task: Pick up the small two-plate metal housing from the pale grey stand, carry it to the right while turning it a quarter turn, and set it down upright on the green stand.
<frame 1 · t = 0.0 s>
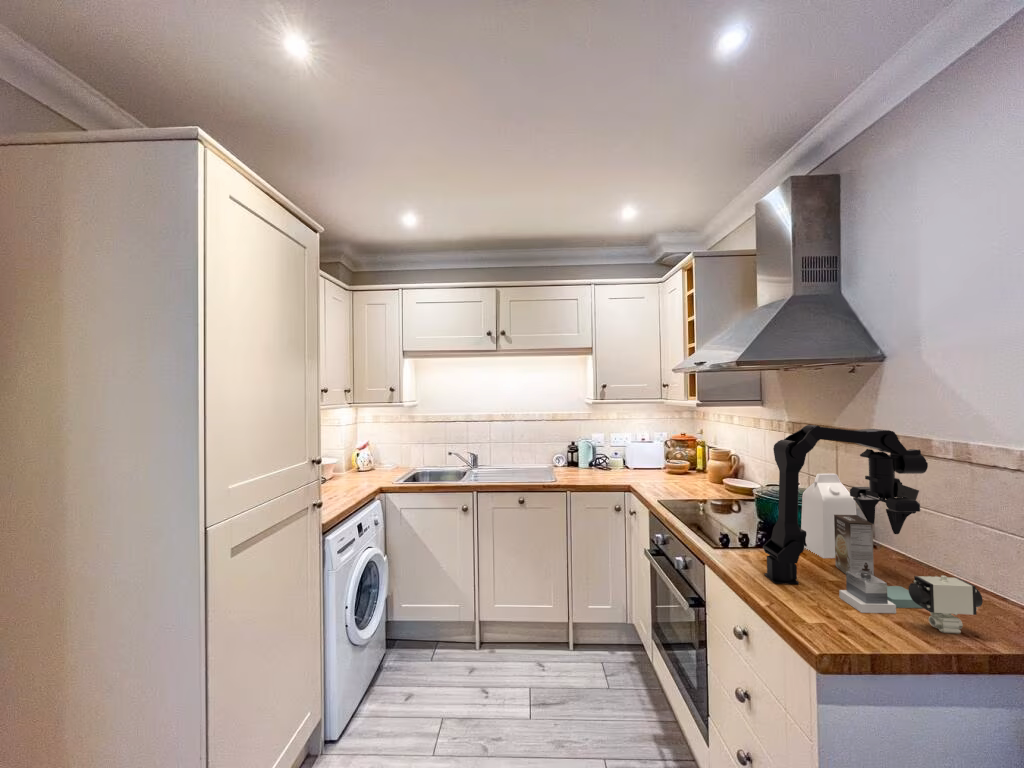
hand: (883, 529, 126), 15 cm above the counter, tool pointing down, fingers open, 9 cm apart
milk: (829, 552, 150), on the counter
housing: (866, 597, 112), point 2 cm above the counter, touching stand a
pneumatic valve: (944, 629, 101), on the counter
stand a: (866, 605, 112), on the counter
stand b: (897, 600, 115), on the counter
coffee box: (854, 573, 132), on the counter
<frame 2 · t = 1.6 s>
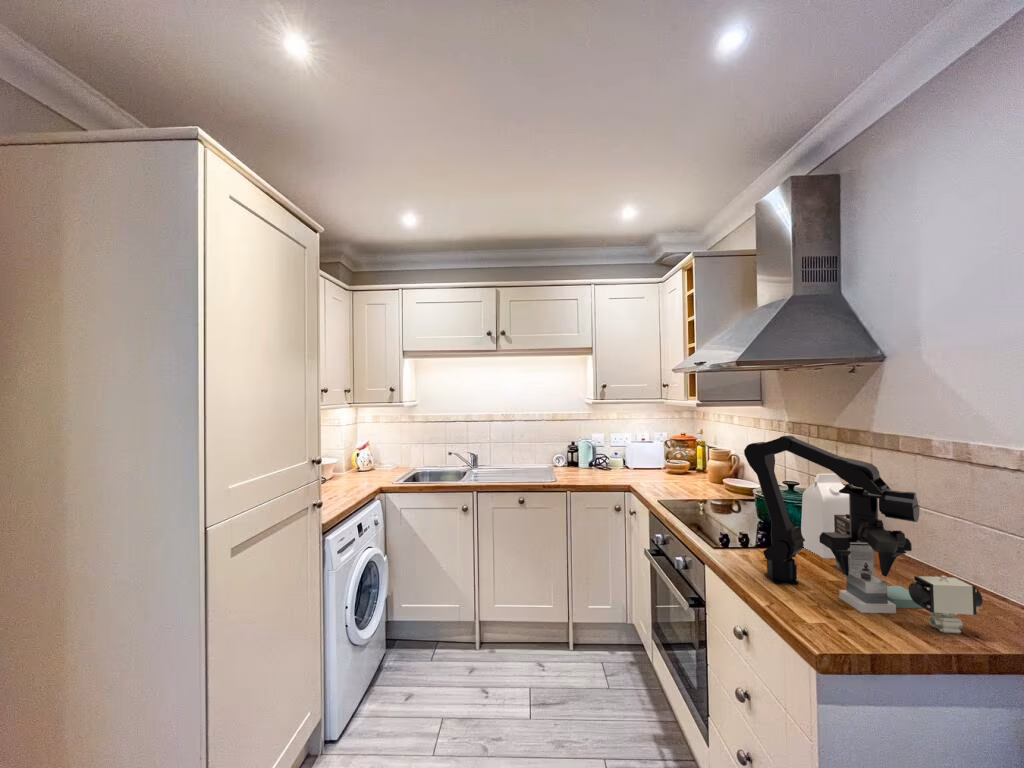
hand: (865, 575, 112), 7 cm above the counter, tool pointing down, fingers open, 9 cm apart
nothing on the counter moved.
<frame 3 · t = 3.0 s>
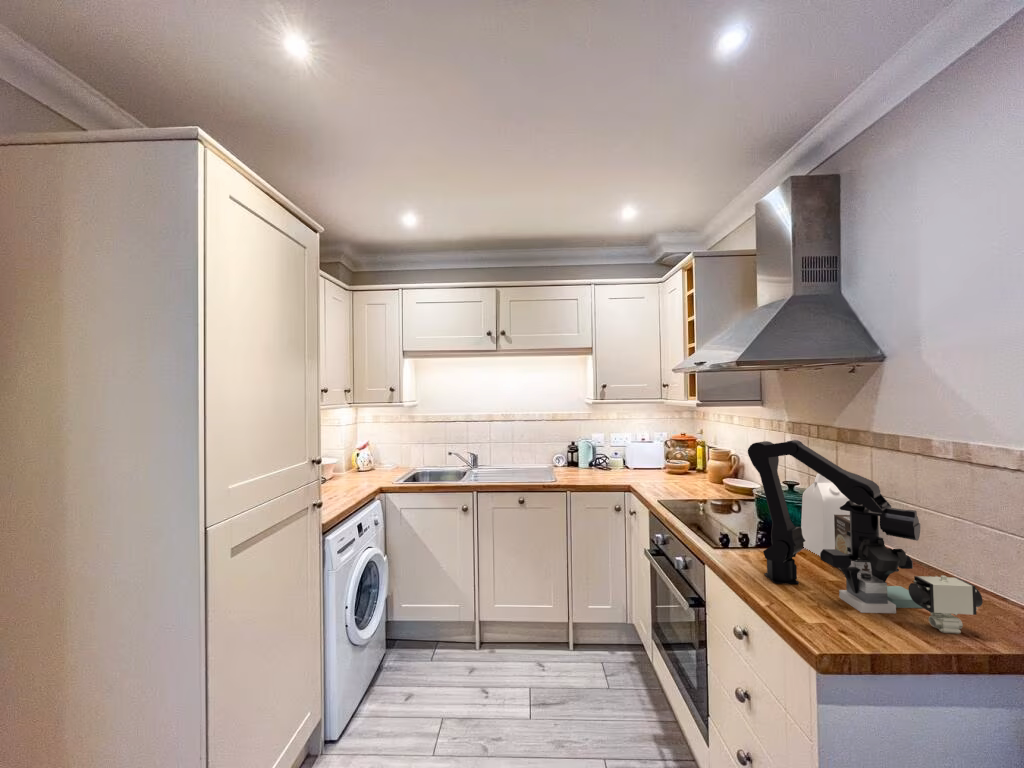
hand: (866, 593, 112), 3 cm above the counter, tool pointing down, fingers closed on housing, 5 cm apart
housing: (866, 597, 112), point 2 cm above the counter, touching gripper, stand a
everything else where it was.
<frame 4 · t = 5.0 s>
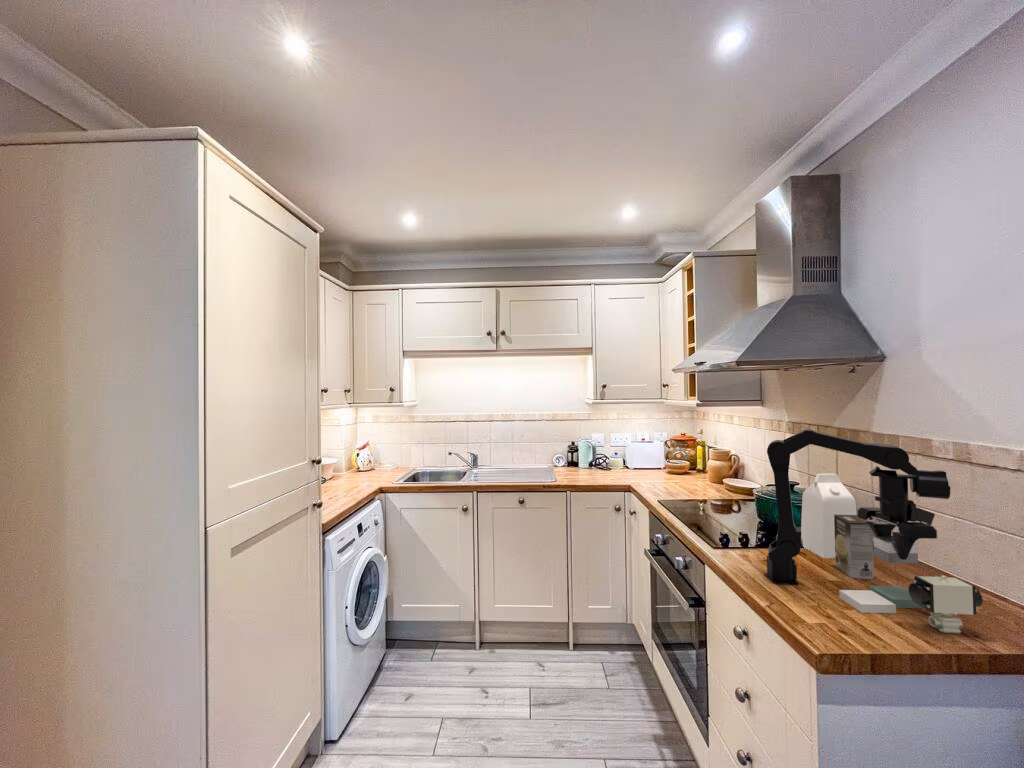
hand: (895, 555, 115), 11 cm above the counter, tool pointing down, fingers closed on housing, 5 cm apart
housing: (895, 559, 115), point 10 cm above the counter, touching gripper
everything else where it was.
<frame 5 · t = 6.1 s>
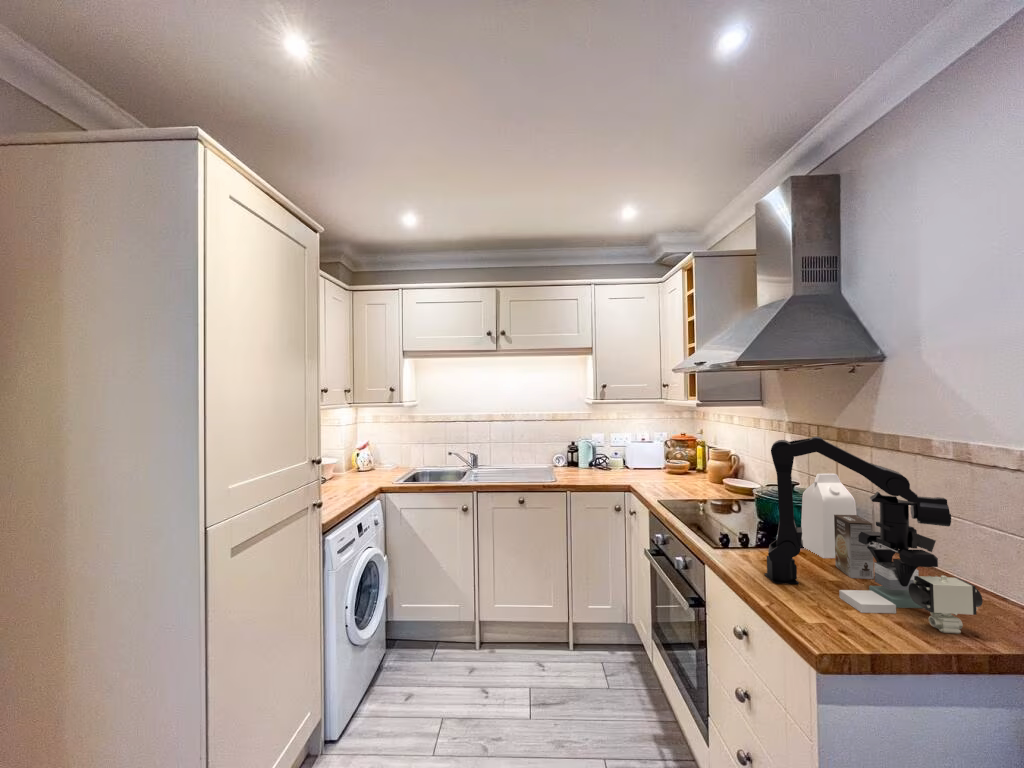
hand: (896, 581, 115), 5 cm above the counter, tool pointing down, fingers closed on housing, 5 cm apart
housing: (896, 585, 115), point 4 cm above the counter, touching gripper
everything else where it was.
when the fingers open (4 cm above the counter, at t = 6.9 s): housing drops 1 cm, resting on stand b.
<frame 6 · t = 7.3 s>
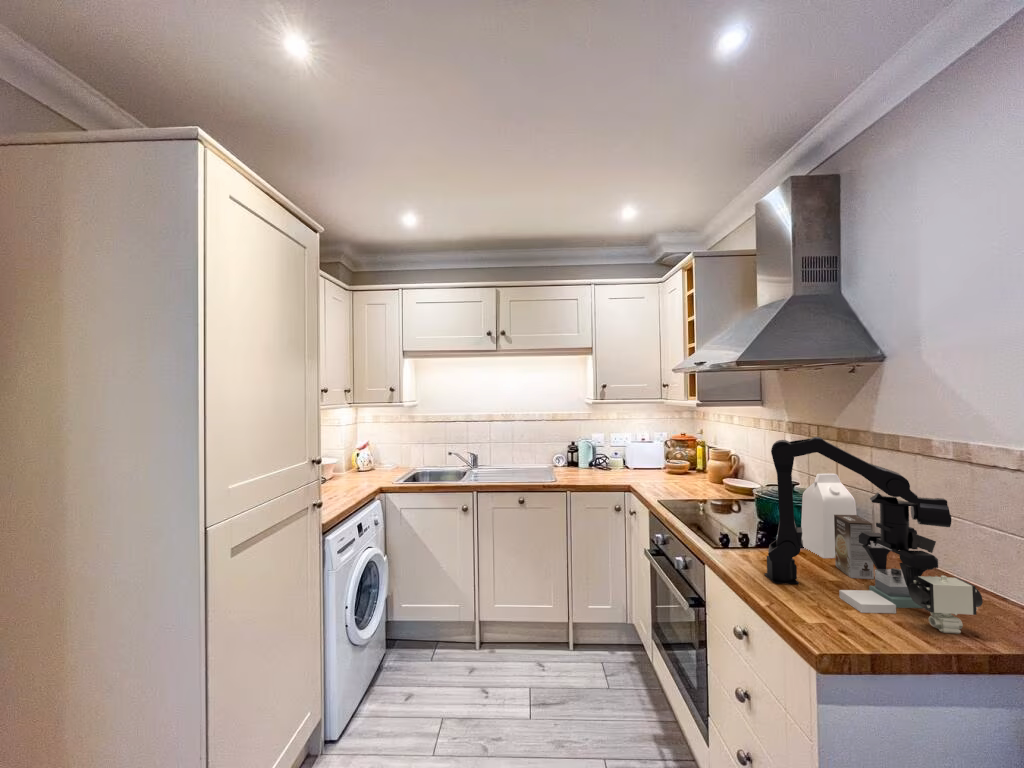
hand: (896, 582, 115), 4 cm above the counter, tool pointing down, fingers open, 9 cm apart
housing: (896, 592, 115), point 2 cm above the counter, touching stand b
everything else where it was.
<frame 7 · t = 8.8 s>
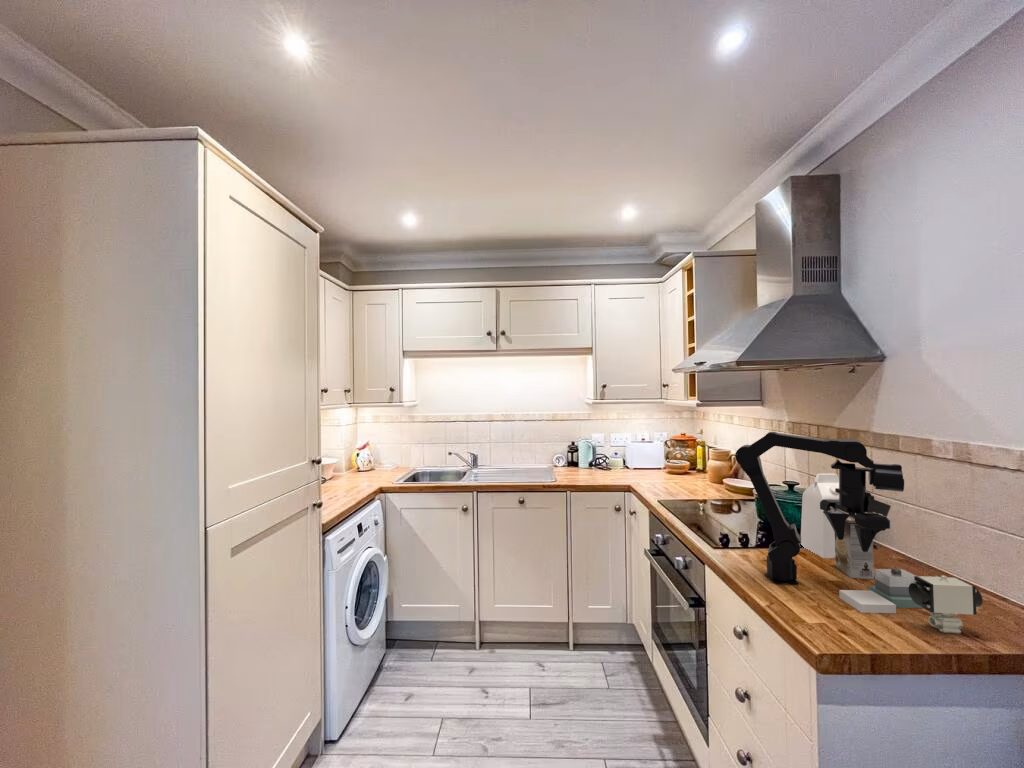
hand: (852, 545, 119), 13 cm above the counter, tool pointing down, fingers open, 9 cm apart
nothing on the counter moved.
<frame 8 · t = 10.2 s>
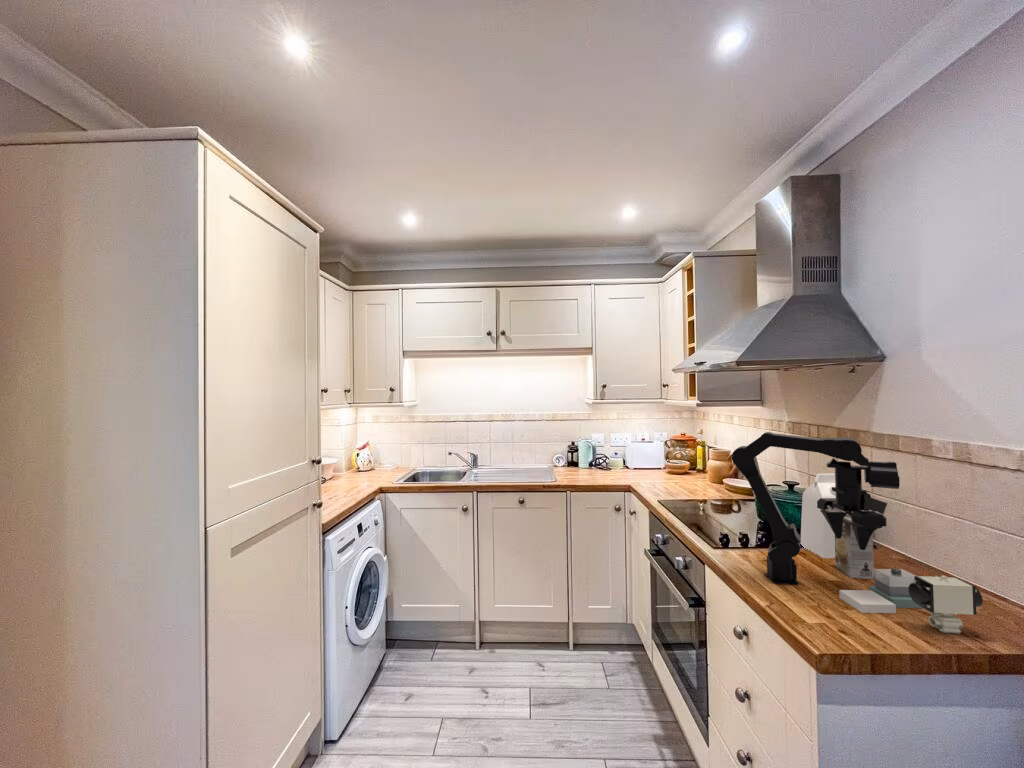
hand: (850, 543, 119), 13 cm above the counter, tool pointing down, fingers open, 9 cm apart
nothing on the counter moved.
at the end: housing inside the target area on the stand b (0.0 cm from its centre), point 2.0 cm above the stand b's base; housing tilted 0°; the gripper is holding nothing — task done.
